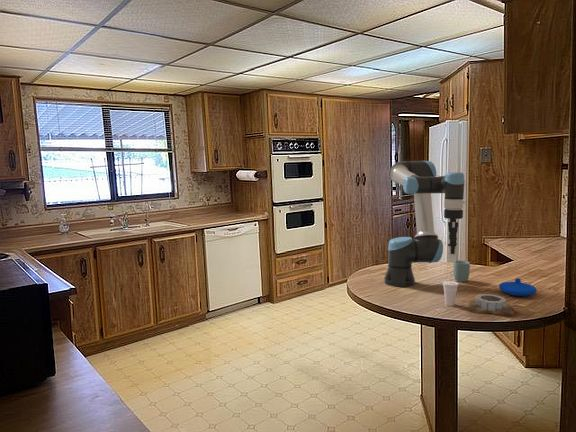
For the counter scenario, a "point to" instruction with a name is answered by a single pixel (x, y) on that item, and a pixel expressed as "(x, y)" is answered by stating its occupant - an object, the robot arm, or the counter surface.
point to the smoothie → (450, 292)
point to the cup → (461, 270)
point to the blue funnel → (517, 288)
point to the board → (504, 312)
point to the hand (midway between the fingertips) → (451, 257)
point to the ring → (490, 302)
